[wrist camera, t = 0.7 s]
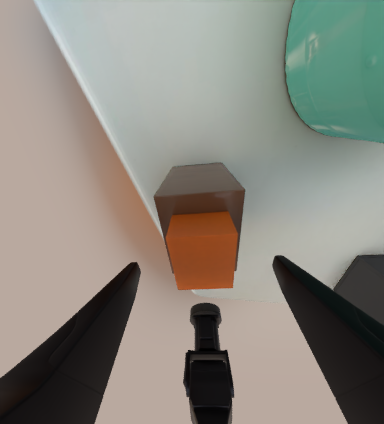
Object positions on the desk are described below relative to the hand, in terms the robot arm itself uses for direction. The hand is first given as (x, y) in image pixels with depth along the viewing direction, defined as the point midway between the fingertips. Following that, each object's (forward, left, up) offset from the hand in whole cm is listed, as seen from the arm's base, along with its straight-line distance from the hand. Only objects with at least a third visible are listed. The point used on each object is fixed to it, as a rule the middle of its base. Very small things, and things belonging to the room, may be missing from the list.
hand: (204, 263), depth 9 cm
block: (0, 0, -2) cm, 2 cm away
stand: (0, 0, -11) cm, 11 cm away
